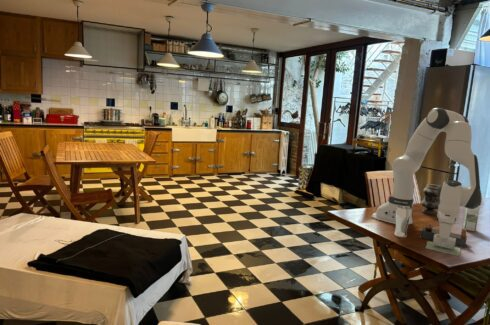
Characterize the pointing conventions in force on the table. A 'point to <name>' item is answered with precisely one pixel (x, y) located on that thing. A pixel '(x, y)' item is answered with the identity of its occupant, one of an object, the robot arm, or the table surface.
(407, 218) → the beer glass
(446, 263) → the table surface
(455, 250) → the rubber mat
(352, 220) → the table surface
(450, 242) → the lever cap
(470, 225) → the syrup box
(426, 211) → the apothecary jar
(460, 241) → the plane body
